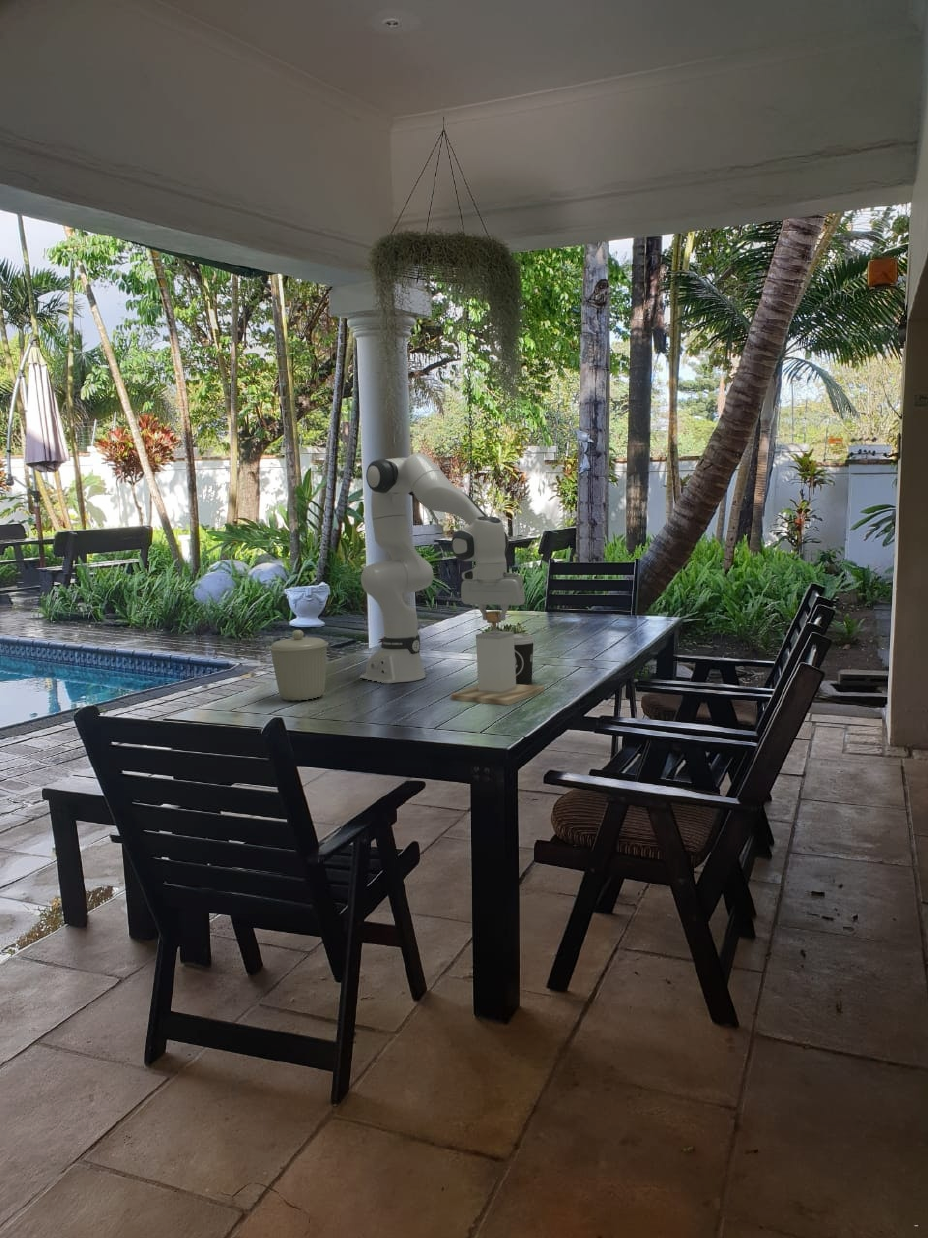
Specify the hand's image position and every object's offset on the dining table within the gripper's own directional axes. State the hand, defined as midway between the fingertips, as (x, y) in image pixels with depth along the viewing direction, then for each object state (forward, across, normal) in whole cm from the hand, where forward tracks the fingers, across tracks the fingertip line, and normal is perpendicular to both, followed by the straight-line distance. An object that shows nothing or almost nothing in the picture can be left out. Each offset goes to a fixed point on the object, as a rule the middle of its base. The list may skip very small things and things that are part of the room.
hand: (494, 620), depth 285 cm
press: (+21, 0, -1) cm, 21 cm away
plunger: (+18, 0, 0) cm, 18 cm away
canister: (+22, +55, +25) cm, 65 cm away
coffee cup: (+23, +3, -18) cm, 29 cm away
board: (+22, 0, 0) cm, 22 cm away
